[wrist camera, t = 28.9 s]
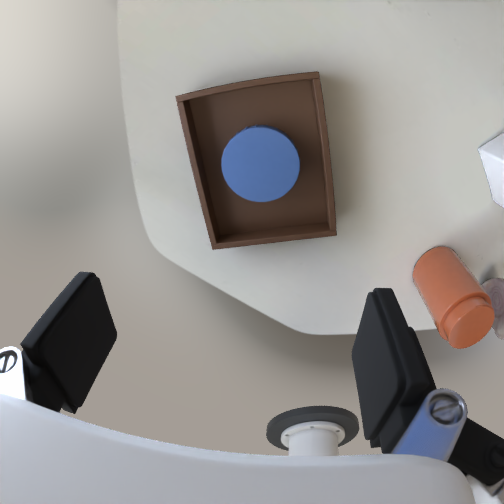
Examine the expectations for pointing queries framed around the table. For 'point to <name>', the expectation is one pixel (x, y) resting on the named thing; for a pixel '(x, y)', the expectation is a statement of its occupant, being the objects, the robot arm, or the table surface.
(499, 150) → the medicine bottle
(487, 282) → the fossil
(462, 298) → the jar
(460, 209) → the table surface
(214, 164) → the tray
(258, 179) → the lid
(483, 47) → the table surface
